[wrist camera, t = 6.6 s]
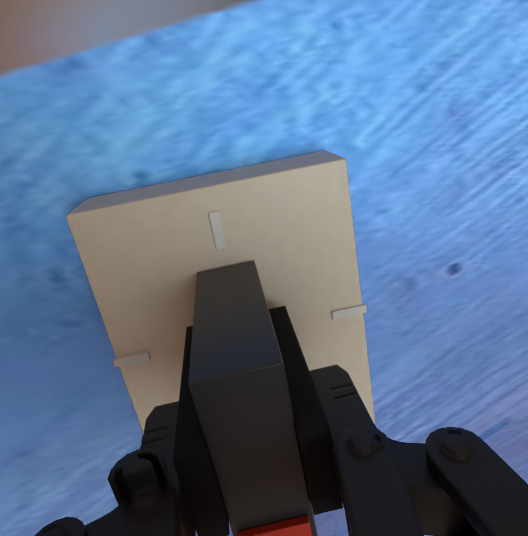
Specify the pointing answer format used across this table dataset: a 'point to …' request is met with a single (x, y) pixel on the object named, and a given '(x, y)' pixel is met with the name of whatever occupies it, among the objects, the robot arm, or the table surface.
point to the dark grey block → (247, 406)
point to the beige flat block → (225, 264)
